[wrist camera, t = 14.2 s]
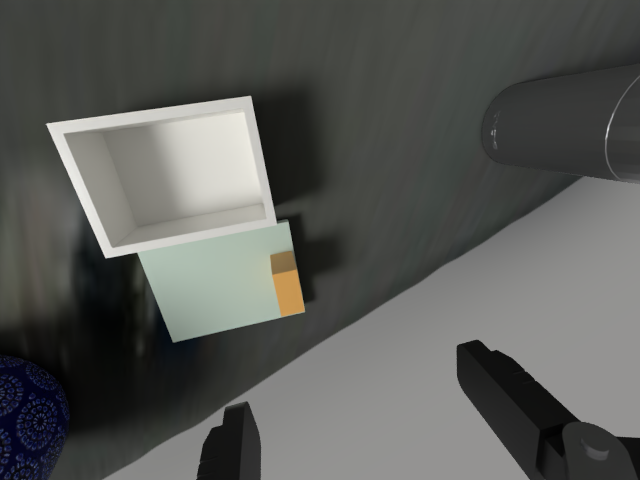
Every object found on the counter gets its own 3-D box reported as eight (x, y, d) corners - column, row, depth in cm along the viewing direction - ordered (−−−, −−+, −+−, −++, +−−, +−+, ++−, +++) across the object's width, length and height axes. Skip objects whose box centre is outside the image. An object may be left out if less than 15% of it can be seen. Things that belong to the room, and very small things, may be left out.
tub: (252, 102, 31) (250, 95, 24) (273, 207, 35) (277, 225, 28) (93, 124, 29) (46, 123, 22) (135, 232, 33) (105, 258, 26)
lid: (286, 216, 36) (293, 236, 29) (302, 302, 40) (311, 337, 34) (143, 243, 34) (116, 271, 27) (177, 331, 38) (160, 374, 32)
